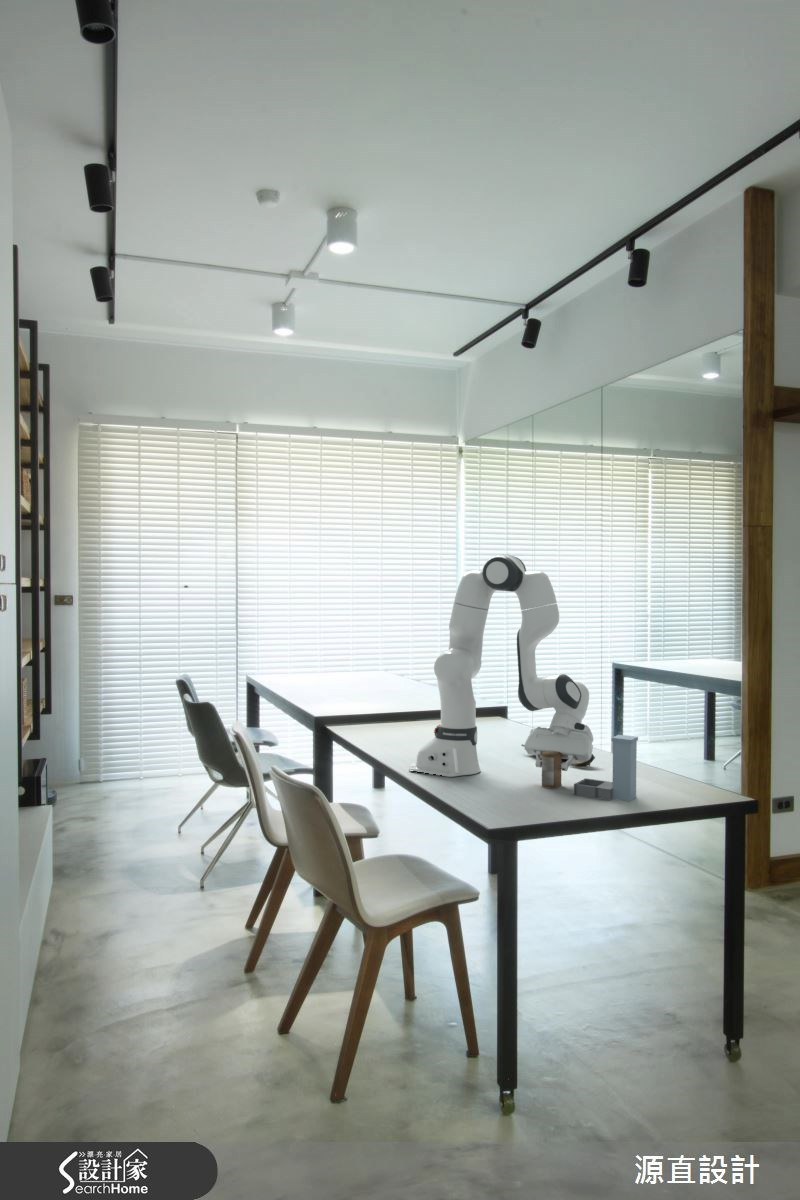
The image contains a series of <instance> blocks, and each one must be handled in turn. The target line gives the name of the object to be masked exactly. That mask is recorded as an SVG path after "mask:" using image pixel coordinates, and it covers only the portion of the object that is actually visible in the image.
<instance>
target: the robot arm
mask: <svg viewBox="0 0 800 1200" xmlns="http://www.w3.org/2000/svg"><path fill="white" fill-rule="evenodd" d="M483 565H484V566H483V567H482V570H475V569H474V570H468V571H466V572H465V573H464V574H463V575H462V577H461V579H460V582H459V585H458V587H457V588H456V589H457V590H456V593H455V597H454V600H453V606H452V609H451V613H450V614H451V615H450V619H449V623H448V625H449V627H448V629H449V646H448V649H447V650H445V651H442V653H441V654H439V656H438V657H437V658H436V660H435V661H434V666H433V670H434V674H435V677H436V679H437V681H436V682H437V687H438V691H439V693H438V694H439V697H440V724H438V725H436V727H435V728H434V729H433V733H434V736H435V737H433V738H432V739H431V740H429V741H428V742H427V743H425V744H424V745H423V746H422V747H420V748H419V750H418V752H417V754H416V760H415V762H413V763H411V764H410V765H409V769H410V770H413V771H419V772H424V773H423V774H425V773H429V774H428V775H433V774H436V775H435V776H440V775H442V777H448V778H451V777H452V778H455V777H459V776H469V775H475V774H478V773H480V772H481V770H482V769H481V766H480V763H479V759H478V749H477V745H478V727H477V724H476V723H477V721H476V718H477V717H476V712H477V707H476V706H477V705H476V703H477V701H476V699H475V696H474V690H473V684H472V679H474V678H475V677H476V676H477V675H478V674H479V672H480V670H481V667H482V655H483V654H482V653H483V645H484V641H483V640H484V632H485V629H486V628H485V626H486V623H487V617H488V613H489V609H490V603H491V599H492V596H493V595H494V593H495V592H496V591H501V592H502V591H503V592H510V593H511V592H513V593H515V594H516V596H517V598H518V602H519V607H520V611H521V625H520V628H519V629H518V631H517V634H516V652H517V653H516V654H517V668H518V689H517V698H518V701H519V703H520V704H521V705H522V707H523V708H525V709H526V710H528V711H530V712H536V711H540V710H545V709H552V708H553V709H554V710H555V713H554V715H553V717H552V719H551V722H550V725H549V727H541V726H537V727H534V728H532V729H530V732H529V735H528V737H527V739H526V740H525V742H524V744H523V745H524V746H523V748H524V751H526V753H527V754H528V755H531V756H535V759H536V761H535V763H534V764H535V767H536V768H541V769H542V753H543V752H545V751H556V752H560V753H561V754H562V759H568V760H567V761H566V762H562V763H561V772H562V771H563V772H568V770H569V767H570V766H572V764H573V763H574V761H575V760H578V761H588V760H589V759H590V758H591V755H592V754H593V750H594V747H593V746H594V745H593V742H594V735H593V732H592V731H591V729H590V726H589V725H587V724H585V723H582V720H583V719H584V718H585V716H586V713H587V710H588V706H589V702H590V691H589V689H588V688H587V686H586V685H585V684H583V683H581V682H580V681H575V680H573V679H572V678H571V677H570V676H569V675H567V674H565V673H564V674H563V673H561V674H553V675H548V676H541V677H540V676H538V675H537V666H536V665H537V664H536V648H537V646H538V644H539V643H540V642H541V641H543V640H544V639H545V638H547V637H548V636H550V635H551V633H553V632H554V631H555V630H556V628H557V627H558V625H559V622H560V610H559V606H558V601H557V597H556V595H555V591H554V588H553V585H552V583H551V580H550V578H549V576H548V574H547V573H545V572H544V571H540V570H531V571H527V568H526V565H525V563H524V561H523V560H521V559H520V558H518V557H517V556H515V555H510V554H497V555H494V556H491V557H490V558H489V559H487V561H485V563H484V564H483ZM410 770H409V771H410Z"/></svg>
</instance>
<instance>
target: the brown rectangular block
mask: <svg viewBox="0 0 800 1200" xmlns="http://www.w3.org/2000/svg"><path fill="white" fill-rule="evenodd" d="M541 760H542V767H541V788H548V789H554V790H555V789H557V788H559V787H561V786H562V769H561V766H562V763H563V762H562V754H561V753H560V752H556V751H545V752H543V753H542V758H541Z"/></svg>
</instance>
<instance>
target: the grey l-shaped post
mask: <svg viewBox="0 0 800 1200" xmlns="http://www.w3.org/2000/svg"><path fill="white" fill-rule="evenodd" d="M638 741H639V736H635V735H624V734H617V735H615V736H612V737H611V742H612V781H609V780H608V781H607V780H599V779H595V778H594V779H592V778H583V779H581V780H579V781H577V782H575V783H573V795H574V796H579V797H585V796H586V797H585V798H593V799H598V798H599V799H600V800H605V799H606V800H607V801H612V800H616V799H618V800H617V801H623V800H625V801H624V802H632V801H634V800H635V799H636V798H637V754H638V753H637V745H638V744H637V742H638ZM634 798H635V799H634ZM599 799H598V800H599ZM631 800H632V801H631Z"/></svg>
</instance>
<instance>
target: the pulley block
mask: <svg viewBox="0 0 800 1200" xmlns="http://www.w3.org/2000/svg"><path fill="white" fill-rule="evenodd" d="M521 746H522V747H524V744H521ZM595 758H596V756H594V754H593V753H592V755H591V758H590V759H589V760H588V761H578V760H575V761H574V763H573V764H572V765H571V766H573V767H576V768H583V767H587V766H590V767H591V764H592V762H593V761H595ZM567 760H568V759H562V763H565V762H566V761H567Z"/></svg>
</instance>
